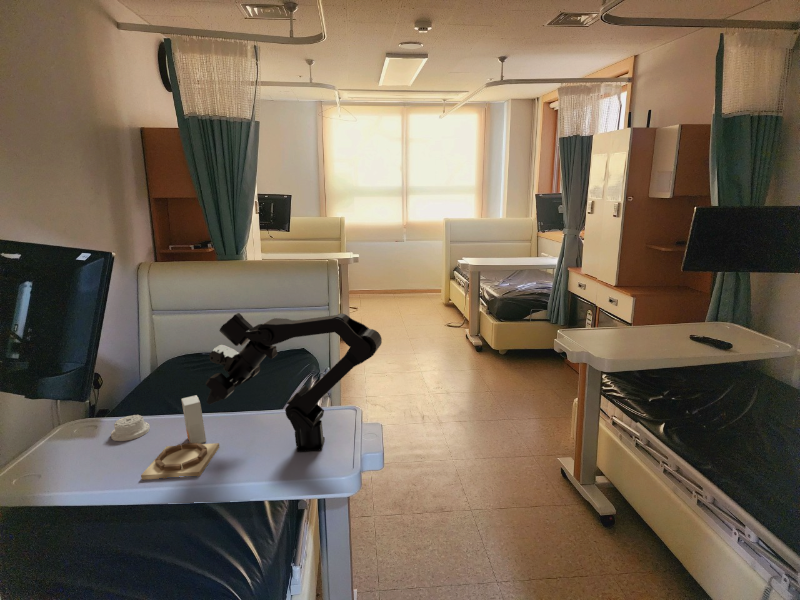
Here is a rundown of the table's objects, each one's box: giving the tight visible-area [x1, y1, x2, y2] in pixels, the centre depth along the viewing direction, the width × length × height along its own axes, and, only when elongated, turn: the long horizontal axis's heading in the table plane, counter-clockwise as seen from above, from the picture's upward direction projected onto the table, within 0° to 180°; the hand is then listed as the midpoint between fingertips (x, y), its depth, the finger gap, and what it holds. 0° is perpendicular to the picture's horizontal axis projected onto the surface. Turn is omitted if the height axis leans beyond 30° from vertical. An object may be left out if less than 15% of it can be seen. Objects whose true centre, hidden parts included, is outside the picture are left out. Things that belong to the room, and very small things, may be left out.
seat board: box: [140, 442, 220, 481], centre depth 126 cm, size 14×14×2 cm
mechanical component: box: [110, 414, 151, 442], centre depth 144 cm, size 10×4×10 cm
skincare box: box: [180, 394, 207, 444], centre depth 137 cm, size 6×4×12 cm
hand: (217, 396), depth 134 cm, fingers open, 9 cm apart
